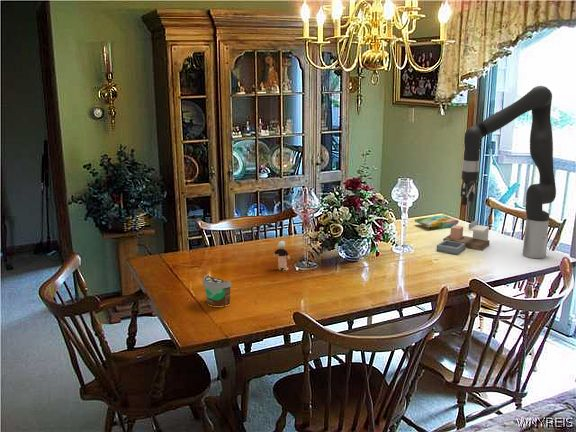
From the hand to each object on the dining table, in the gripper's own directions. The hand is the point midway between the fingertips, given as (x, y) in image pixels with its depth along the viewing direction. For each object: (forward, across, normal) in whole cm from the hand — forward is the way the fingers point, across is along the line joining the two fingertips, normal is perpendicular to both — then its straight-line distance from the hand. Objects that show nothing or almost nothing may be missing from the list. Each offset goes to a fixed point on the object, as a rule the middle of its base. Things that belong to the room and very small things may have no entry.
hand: (467, 203), depth 264 cm
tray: (+20, +13, -2) cm, 24 cm away
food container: (+20, +124, -47) cm, 134 cm away
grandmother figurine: (+21, +80, -50) cm, 96 cm away
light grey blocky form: (+18, 0, +6) cm, 19 cm away
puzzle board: (+20, 0, +1) cm, 20 cm away
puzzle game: (+21, -22, -24) cm, 38 cm away
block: (+20, 0, -4) cm, 21 cm away
